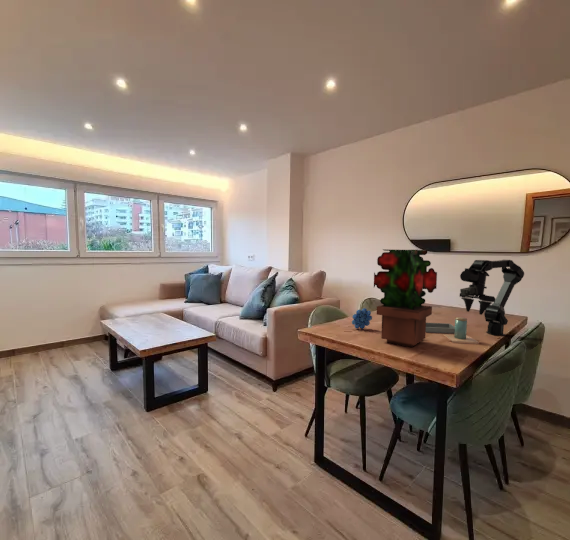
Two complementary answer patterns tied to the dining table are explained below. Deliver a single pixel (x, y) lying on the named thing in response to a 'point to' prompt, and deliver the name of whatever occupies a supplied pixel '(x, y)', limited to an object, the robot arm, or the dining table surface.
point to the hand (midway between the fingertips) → (474, 312)
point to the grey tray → (440, 328)
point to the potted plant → (404, 295)
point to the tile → (455, 340)
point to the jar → (460, 328)
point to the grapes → (361, 318)
